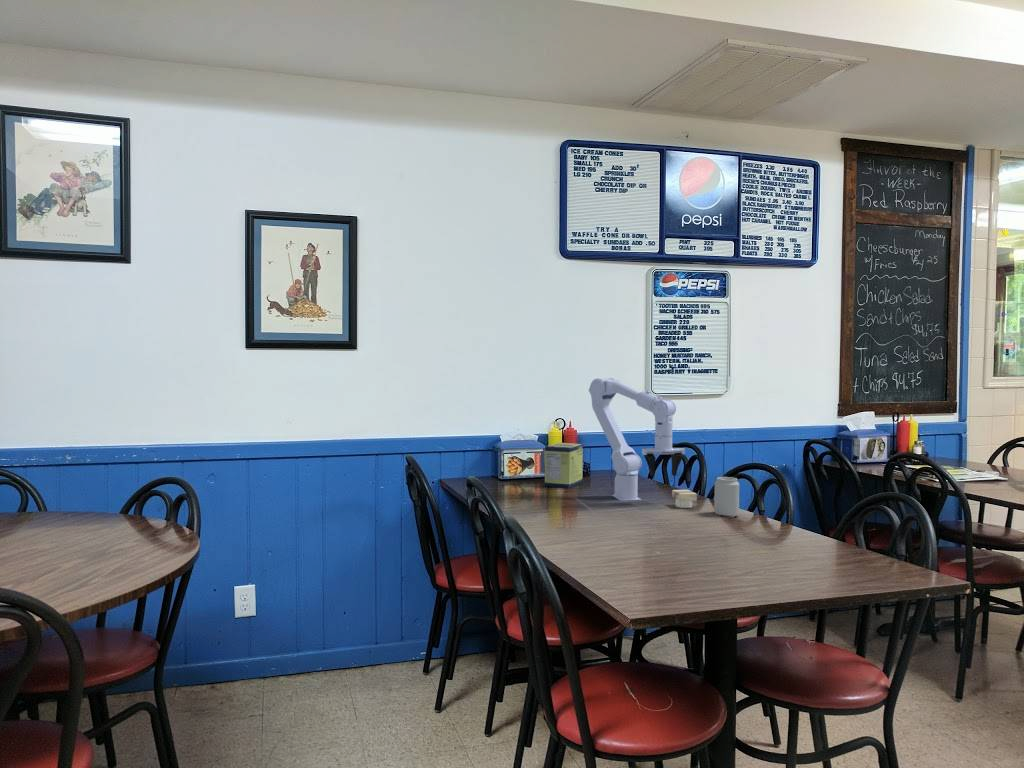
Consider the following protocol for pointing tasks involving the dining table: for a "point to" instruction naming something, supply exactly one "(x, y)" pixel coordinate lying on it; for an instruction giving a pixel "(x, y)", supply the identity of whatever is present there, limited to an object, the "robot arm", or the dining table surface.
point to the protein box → (563, 465)
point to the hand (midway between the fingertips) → (663, 475)
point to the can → (726, 496)
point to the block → (684, 495)
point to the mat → (648, 506)
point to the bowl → (683, 504)
